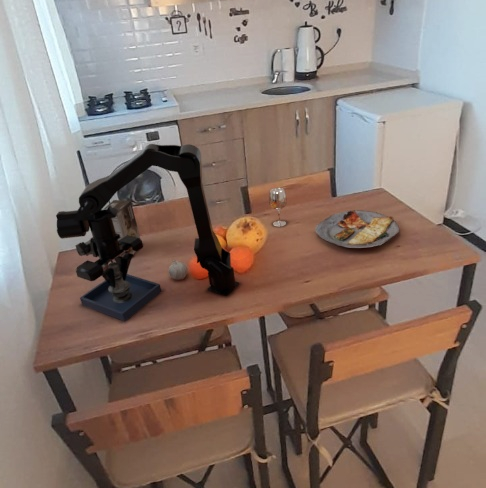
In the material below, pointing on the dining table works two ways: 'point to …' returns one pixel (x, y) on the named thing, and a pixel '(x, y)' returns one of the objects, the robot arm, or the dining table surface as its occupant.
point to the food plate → (357, 229)
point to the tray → (140, 297)
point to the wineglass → (278, 203)
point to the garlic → (178, 270)
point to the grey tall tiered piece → (119, 285)
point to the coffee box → (124, 220)
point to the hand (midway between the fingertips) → (118, 283)
